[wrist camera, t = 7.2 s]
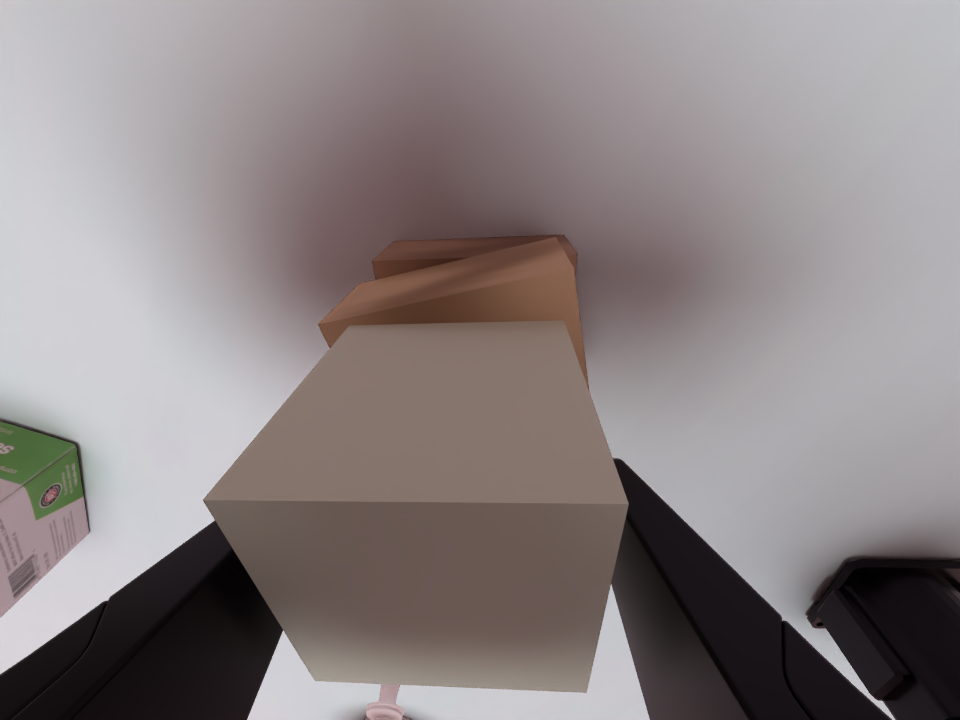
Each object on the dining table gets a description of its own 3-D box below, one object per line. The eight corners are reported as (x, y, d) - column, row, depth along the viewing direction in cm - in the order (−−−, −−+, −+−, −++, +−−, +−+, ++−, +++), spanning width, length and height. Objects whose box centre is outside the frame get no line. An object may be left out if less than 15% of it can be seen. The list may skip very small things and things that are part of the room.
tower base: (562, 232, 13) (577, 253, 11) (553, 375, 16) (563, 419, 14) (396, 239, 14) (372, 260, 11) (417, 377, 17) (402, 420, 14)
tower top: (555, 236, 10) (573, 267, 8) (580, 405, 13) (599, 468, 11) (359, 283, 11) (317, 324, 9) (421, 431, 14) (403, 494, 12)
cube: (564, 319, 8) (628, 503, 4) (553, 476, 11) (586, 692, 7) (349, 324, 9) (203, 500, 4) (386, 475, 11) (315, 680, 7)
